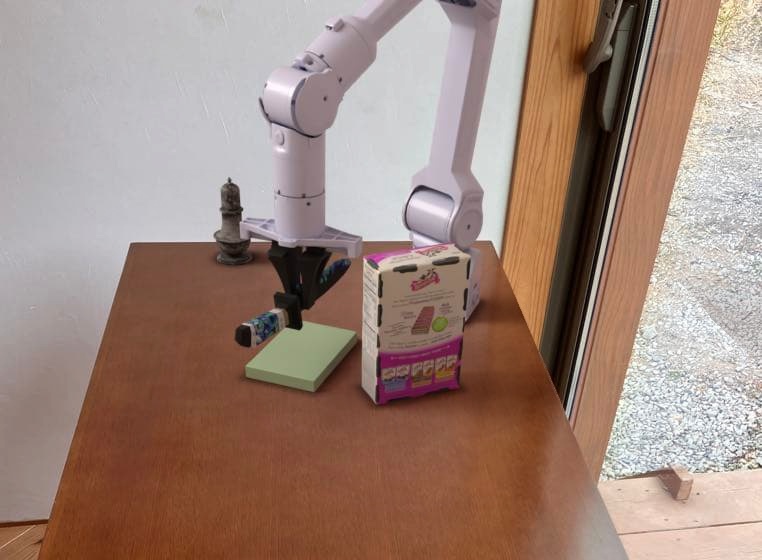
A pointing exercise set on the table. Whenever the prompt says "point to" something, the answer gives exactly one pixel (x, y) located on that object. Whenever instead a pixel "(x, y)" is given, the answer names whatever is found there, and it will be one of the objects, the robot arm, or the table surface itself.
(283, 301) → the knife
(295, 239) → the robot arm
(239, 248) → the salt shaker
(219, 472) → the table surface
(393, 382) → the candy bar box
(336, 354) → the cutting board
